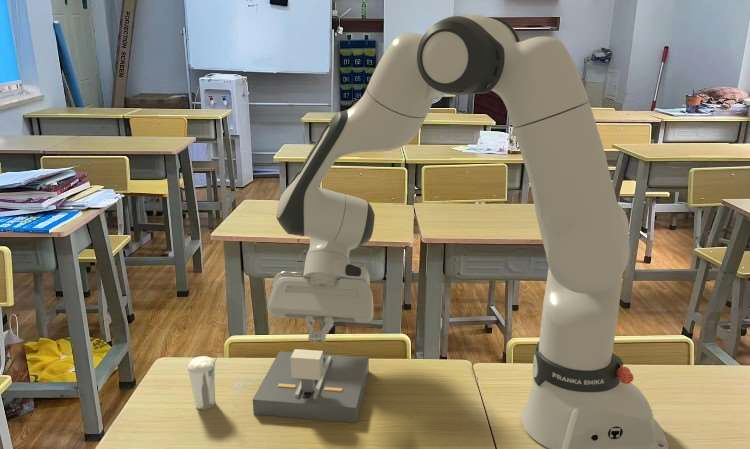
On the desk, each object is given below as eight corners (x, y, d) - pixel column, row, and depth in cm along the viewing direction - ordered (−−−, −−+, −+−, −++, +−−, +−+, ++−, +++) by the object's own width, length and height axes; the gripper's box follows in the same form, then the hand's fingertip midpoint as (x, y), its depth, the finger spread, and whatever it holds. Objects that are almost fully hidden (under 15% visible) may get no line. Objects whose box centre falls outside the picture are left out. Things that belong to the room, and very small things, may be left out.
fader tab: (323, 385, 97) (323, 350, 95) (320, 395, 94) (319, 359, 92) (296, 383, 97) (294, 349, 95) (292, 392, 95) (290, 357, 92)
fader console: (368, 370, 108) (368, 354, 107) (356, 422, 92) (355, 404, 91) (280, 364, 110) (279, 348, 109) (253, 414, 95) (252, 396, 93)
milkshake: (215, 414, 94) (210, 364, 91) (187, 410, 95) (181, 360, 92) (227, 399, 99) (222, 350, 96) (200, 395, 100) (195, 347, 97)
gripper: (271, 264, 107) (258, 333, 101) (375, 269, 105) (368, 340, 98) (278, 276, 112) (266, 342, 106) (377, 282, 110) (371, 349, 104)
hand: (316, 341), depth 102 cm, fingers closed
